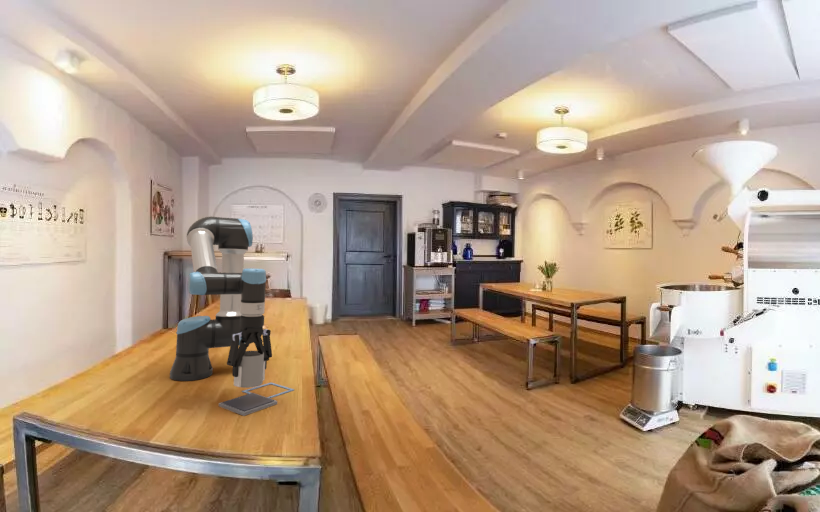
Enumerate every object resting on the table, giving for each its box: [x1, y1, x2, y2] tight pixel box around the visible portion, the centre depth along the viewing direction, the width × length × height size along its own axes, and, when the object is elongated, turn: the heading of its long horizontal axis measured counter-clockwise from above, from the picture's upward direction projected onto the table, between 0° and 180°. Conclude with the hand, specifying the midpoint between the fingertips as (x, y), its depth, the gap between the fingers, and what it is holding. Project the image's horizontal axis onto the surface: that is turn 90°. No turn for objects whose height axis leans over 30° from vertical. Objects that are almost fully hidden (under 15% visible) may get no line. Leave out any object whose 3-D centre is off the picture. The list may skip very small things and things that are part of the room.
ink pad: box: [218, 392, 278, 417], centre depth 135 cm, size 13×13×1 cm
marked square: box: [241, 382, 295, 399], centre depth 149 cm, size 13×13×1 cm
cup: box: [240, 350, 264, 389], centre depth 135 cm, size 8×8×10 cm
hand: (249, 382), depth 135 cm, fingers closed on cup, 8 cm apart
